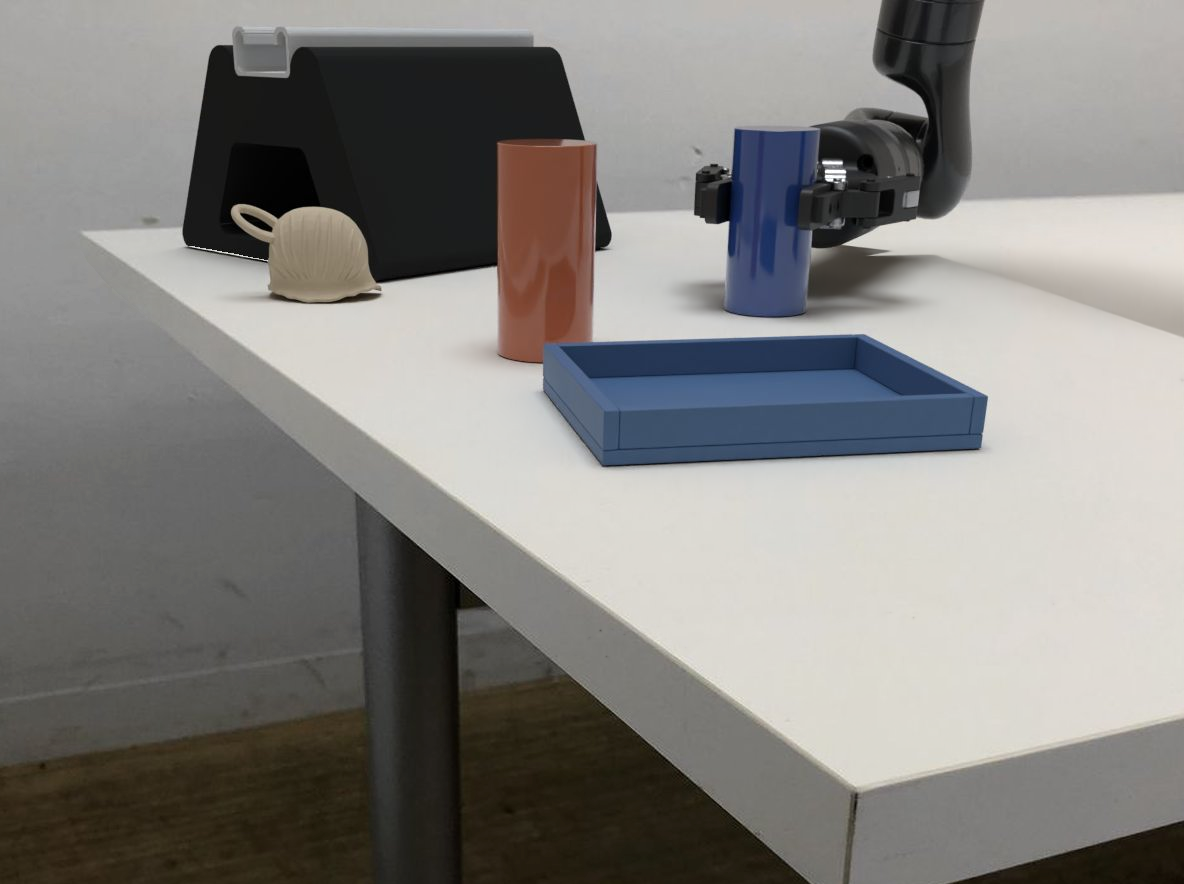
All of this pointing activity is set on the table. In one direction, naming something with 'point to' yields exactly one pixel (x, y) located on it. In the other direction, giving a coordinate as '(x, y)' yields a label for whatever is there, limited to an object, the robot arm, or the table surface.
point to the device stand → (373, 137)
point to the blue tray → (756, 399)
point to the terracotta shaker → (545, 244)
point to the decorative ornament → (312, 253)
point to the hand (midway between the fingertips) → (758, 207)
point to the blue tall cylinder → (769, 220)
